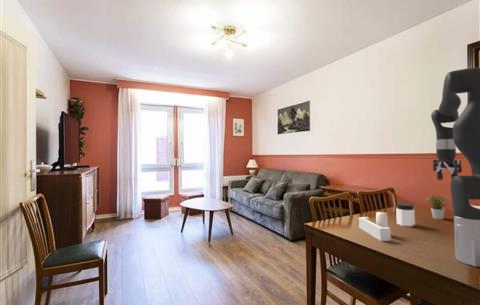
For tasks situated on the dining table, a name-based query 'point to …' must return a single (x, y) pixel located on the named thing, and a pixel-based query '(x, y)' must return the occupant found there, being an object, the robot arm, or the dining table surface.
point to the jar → (405, 214)
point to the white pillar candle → (381, 219)
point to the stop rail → (375, 229)
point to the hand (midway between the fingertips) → (447, 180)
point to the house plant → (437, 206)
